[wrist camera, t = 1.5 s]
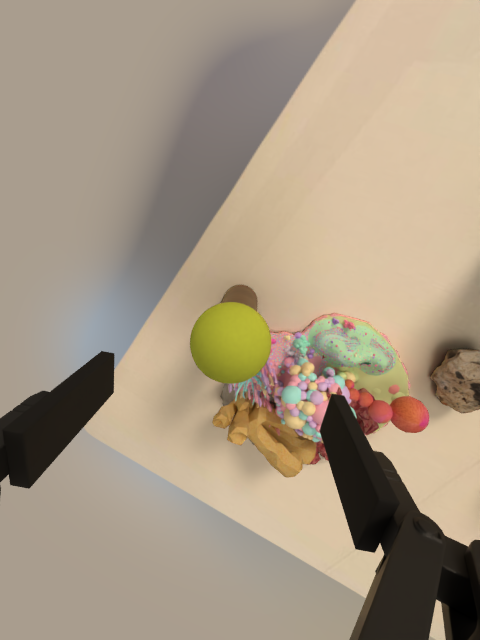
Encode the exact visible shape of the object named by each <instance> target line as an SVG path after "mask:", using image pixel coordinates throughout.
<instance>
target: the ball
mask: <svg viewBox="0 0 480 640" xmlns="http://www.w3.org/2000/svg"><path fill="white" fill-rule="evenodd" d="M190 348H191V353H192V357H193V359H194V361H195V363H196V365H197V366H198V368H199V369H200V370H201V371H202V372H203V373H204V374H205V375H206V376H208V377H209V378H211V379H213V380H215V381H218V382H221V383H228V384H234V383H240V382H244V381H246V380H248V379H250V378H252V377H254V376H255V375H256V374H257V373H259V372H260V370H261V369H262V368H263V367H264V365H265V364H266V362H267V360H268V358H269V355H270V351H271V334H270V331H269V328H268V325H267V323H266V322H265V320H264V319H263V318H262V316H261V315H260V314H259V313H258V312H257V311H255V310H254V309H253V308H251V307H249V306H247V305H244V304H241V303H236V302H226V303H221V304H217V305H215V306H213V307H211V308H209V309H208V310H206V311H205V312H204V313H203V314H202V315H201V316H200V317H199V318H198V320H197V321H196V323H195V325H194V327H193V330H192V332H191V338H190Z"/></svg>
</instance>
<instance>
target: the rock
mask: <svg viewBox="0 0 480 640" xmlns="http://www.w3.org/2000/svg"><path fill="white" fill-rule="evenodd" d="M430 379H431V380H432V379H433V380H435V381H434V382H435V384H436V385H437V392H436V394H435V396H437V397H438V399H439V400H440V402H441V403H442V404H444V405H447V406H450V407H452V408H453V409H454V410H456V411H458V412H460V413H468V412H472V411H475V410H478V409H480V351H478V350H474V349H465V348H463V349H454V350H448V351H447V354H446V356H445V359H444V361H443V362H442V364H441V366H438V367H437V368H436V369H435V370H434V372H433V374H432V375H431V378H430Z"/></svg>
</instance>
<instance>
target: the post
mask: <svg viewBox="0 0 480 640" xmlns="http://www.w3.org/2000/svg"><path fill="white" fill-rule="evenodd" d="M226 302H236V303H241V304H244V305H247V306H249V307H251V308H253V309H254V310H255V311H257V296H256V294H255V292H254V291H253V290H252V289H251V288H250V287H248V286H245V285H236V286H233V287H231V288H230V289H229V290H228V291H227V292H226V294H225V296H224V298H223V300H222V302H221V303H226Z"/></svg>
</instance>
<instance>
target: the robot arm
mask: <svg viewBox="0 0 480 640" xmlns="http://www.w3.org/2000/svg"><path fill="white" fill-rule="evenodd" d="M113 393H114V353H109V352H103V351H101V352H100V353H99V354H98V355H96V356H95V357H94V358H92V359H91V360H90V361H89V362H87V363H86V364H85V365H84V366H83V367H81V368H80V369H78V370H77V371H76V372H75V373H73V374H72V375H71V376H70V377H69V378H67V379H66V380H65V381H63V382H62V383H61V384H60V385H58V386H57V387H56V388H54V389H53V390H52V391H51V392H47V391H41V392H39V393H37V394H34V395H32V396H30V397H29V398H27V399H26V400H25V401H24V402H22V403H21V404H20V405H18V406H17V407H15V408H14V409H13V410H12V411H10V412H8V413H7V414H6V415H4V416H3V417H2V418H0V482H1V481H2V480H3V479H4V478H5V477H6V476H7V475H8V474H9V479H10V485H13V486H18V487H24V488H30V487H31V486H32V485H33V484H34V483H35V481H36V480H37V479H38V478H39V477H40V476H41V475H42V474H43V472H44V471H45V470H46V469H47V468H48V467H49V466H50V464H51V463H52V462H53V461H54V460H55V459H56V458H57V456H58V455H59V454H60V453H61V452H62V451H63V450H64V449H65V447H66V446H67V445H68V444H69V443H70V442H71V441H72V439H73V438H74V437H75V436H76V435H77V434H78V433H79V431H80V430H81V429H82V428H83V427H84V426H85V425H86V423H87V422H88V421H89V420H90V419H91V418H92V417H93V415H94V414H95V413H96V412H97V411H98V410H99V409H100V408H101V406H102V405H103V404H104V403H105V402H106V401H107V400H108V398H109V397H110V396H111V395H112V394H113ZM319 431H320V434H321V437H322V441H323V444H324V447H325V450H326V454H327V457H328V460H329V463H330V467H331V470H332V473H333V477H334V480H335V483H336V486H337V490H338V493H339V496H340V500H341V503H342V506H343V509H344V513H345V516H346V519H347V522H348V526H349V529H350V532H351V536H352V539H353V542H354V545H355V549H358V550H363V551H368V552H374V553H375V551H376V549H377V547H378V545H379V543H381V546H382V549H383V551H384V556H383V558H382V560H381V562H380V564H379V566H378V567H377V569H376V571H375V572H376V575H375V577H374V580H373V582H372V585H371V587H370V590H369V592H368V595H367V597H366V600H365V602H364V605H363V607H362V610H361V612H360V615H359V617H358V620H357V622H356V625H355V627H354V630H353V632H352V635H351V637H350V640H428V639H429V634H430V628H431V623H432V618H433V613H434V607H435V602H436V599H437V600H438V601H440V602H441V604H442V612H443V620H444V628H445V636H446V640H480V540H474V541H473V542H471V544H470V545H469V547H468V546H466V545H463V544H461V543H459V542H457V541H455V540H453V539H451V538H448V537H447V536H445V535H444V534H443V532H442V530H441V529H440V528H439V526H438V525H437V524H436V523H435V522H434V521H433V520H431V519H430V518H429V517H428V516H426V515H424V514H422V513H420V511H419V509H418V508H417V506H416V504H415V502H414V501H413V499H412V497H411V495H410V494H409V492H408V490H407V488H406V487H405V485H404V483H403V482H402V480H401V478H400V476H399V474H397V471H396V469H395V467H394V466H393V464H392V462H391V461H390V460H389V459H388V458H387V457H386V456H385V455H384V454H383V453H382V452H376V451H373V450H372V448H371V446H370V444H369V442H368V440H367V438H366V436H365V434H364V433H363V431H362V429H361V427H360V425H359V423H358V421H357V419H356V417H355V415H354V413H353V411H352V409H351V407H350V406H349V404H348V402H347V400H346V398H345V396H343V395H338V394H331V397H330V400H329V403H328V406H327V409H326V412H325V415H324V418H323V421H322V424H321V427H320V430H319ZM0 491H1V487H0ZM0 494H1V492H0Z"/></svg>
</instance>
